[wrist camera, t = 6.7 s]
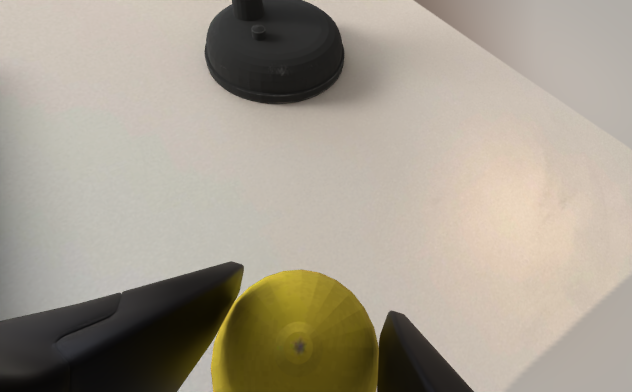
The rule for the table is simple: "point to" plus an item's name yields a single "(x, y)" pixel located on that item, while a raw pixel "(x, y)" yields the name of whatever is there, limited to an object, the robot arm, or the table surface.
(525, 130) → the table surface
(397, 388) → the robot arm
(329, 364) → the lemon
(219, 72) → the desk lamp
